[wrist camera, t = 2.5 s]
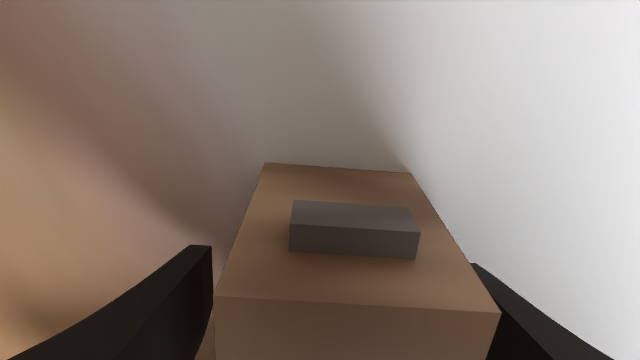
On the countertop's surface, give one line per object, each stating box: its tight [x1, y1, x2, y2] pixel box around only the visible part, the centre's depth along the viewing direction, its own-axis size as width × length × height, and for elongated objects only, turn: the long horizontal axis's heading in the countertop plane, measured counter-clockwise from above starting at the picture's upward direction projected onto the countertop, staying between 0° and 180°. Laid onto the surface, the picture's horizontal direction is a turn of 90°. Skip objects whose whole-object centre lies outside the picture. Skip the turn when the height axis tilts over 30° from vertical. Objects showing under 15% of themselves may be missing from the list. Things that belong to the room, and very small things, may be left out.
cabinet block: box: [213, 163, 502, 360], centre depth 9 cm, size 4×7×6 cm
